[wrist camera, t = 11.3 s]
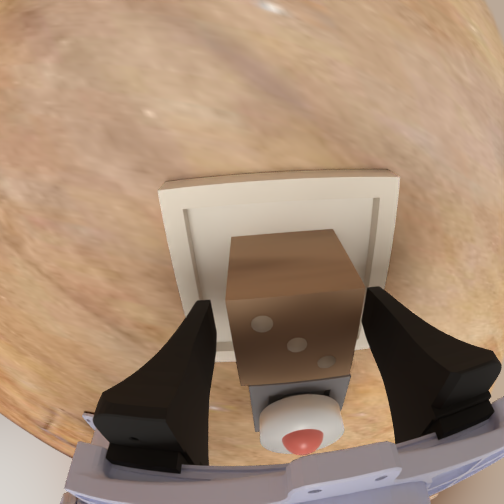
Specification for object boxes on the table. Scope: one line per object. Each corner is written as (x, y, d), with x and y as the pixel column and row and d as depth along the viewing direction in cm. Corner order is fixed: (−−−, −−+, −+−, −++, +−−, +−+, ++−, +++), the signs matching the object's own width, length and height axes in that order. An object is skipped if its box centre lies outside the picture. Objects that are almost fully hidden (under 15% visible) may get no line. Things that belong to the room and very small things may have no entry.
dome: (330, 412, 23) (340, 461, 19) (260, 419, 23) (262, 470, 19) (340, 370, 20) (355, 428, 16) (256, 379, 20) (258, 440, 16)
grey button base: (333, 408, 24) (337, 423, 22) (254, 416, 24) (255, 431, 22) (345, 359, 20) (350, 376, 19) (248, 368, 20) (248, 386, 19)
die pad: (364, 333, 19) (370, 347, 18) (200, 346, 19) (198, 362, 18) (388, 169, 14) (400, 176, 13) (165, 181, 14) (157, 190, 13)
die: (328, 307, 17) (349, 375, 13) (241, 315, 17) (240, 386, 13) (332, 228, 15) (366, 288, 10) (231, 236, 15) (225, 301, 10)
